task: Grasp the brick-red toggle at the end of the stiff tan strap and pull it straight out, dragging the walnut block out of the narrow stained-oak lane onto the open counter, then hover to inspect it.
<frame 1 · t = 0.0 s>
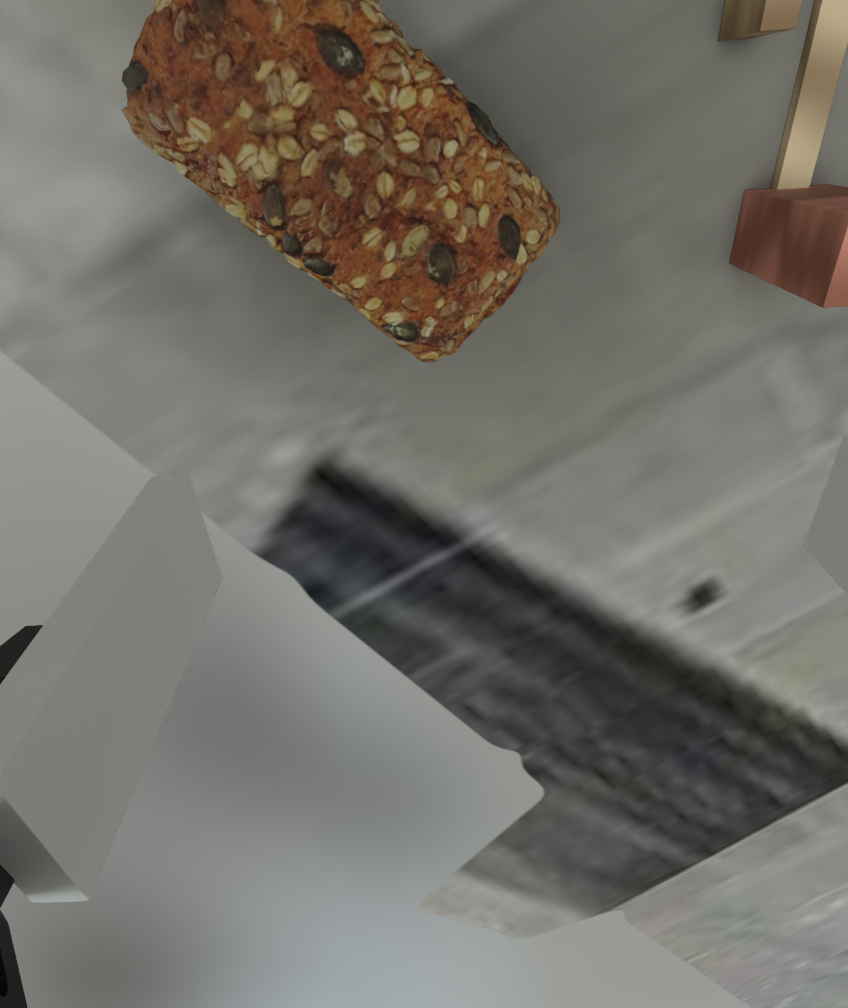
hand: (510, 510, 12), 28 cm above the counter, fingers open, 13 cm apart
bread: (367, 156, 33), on the counter
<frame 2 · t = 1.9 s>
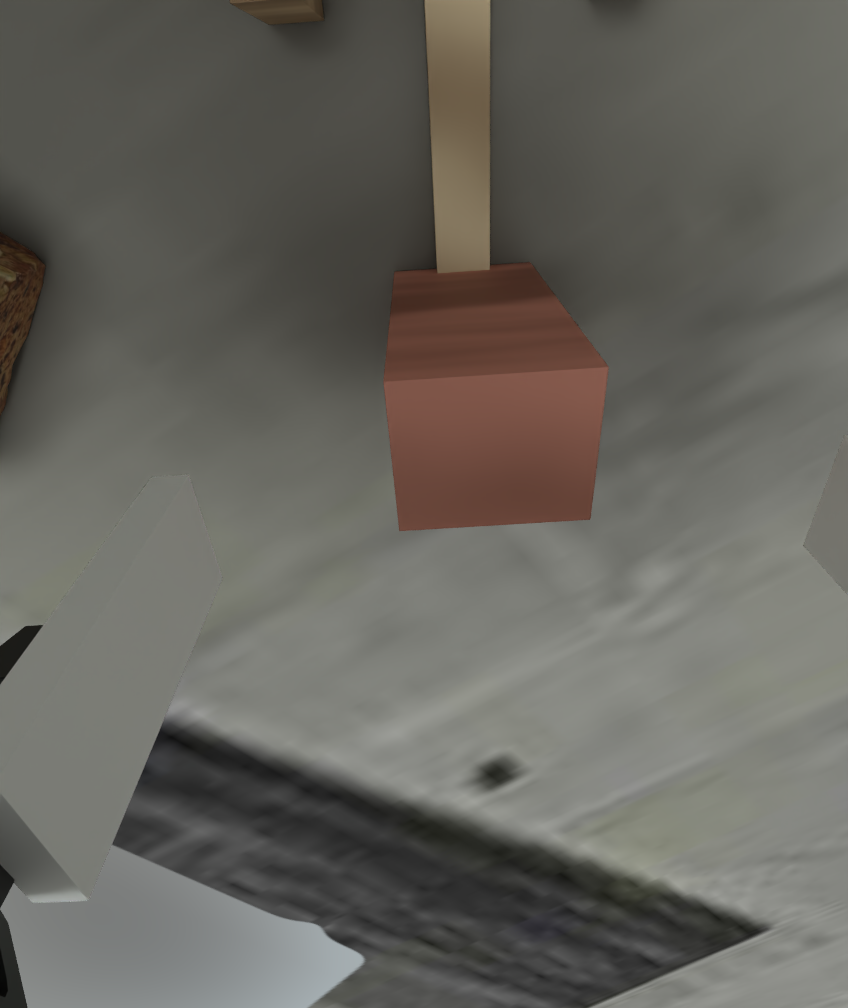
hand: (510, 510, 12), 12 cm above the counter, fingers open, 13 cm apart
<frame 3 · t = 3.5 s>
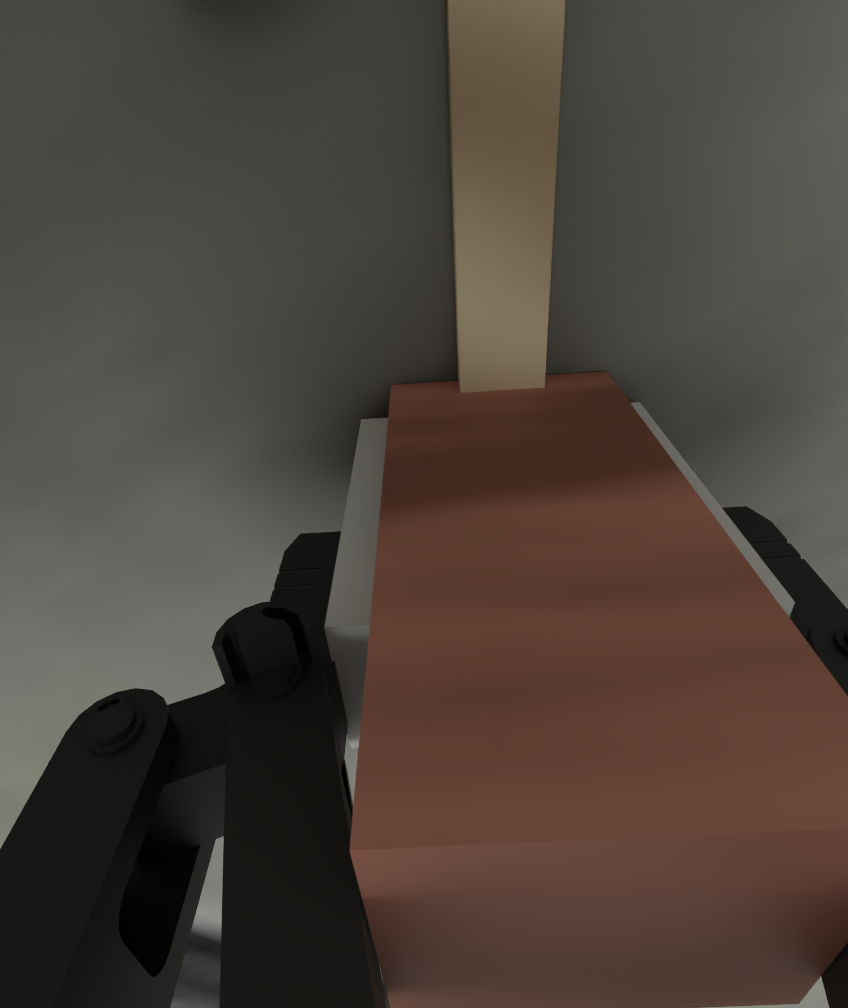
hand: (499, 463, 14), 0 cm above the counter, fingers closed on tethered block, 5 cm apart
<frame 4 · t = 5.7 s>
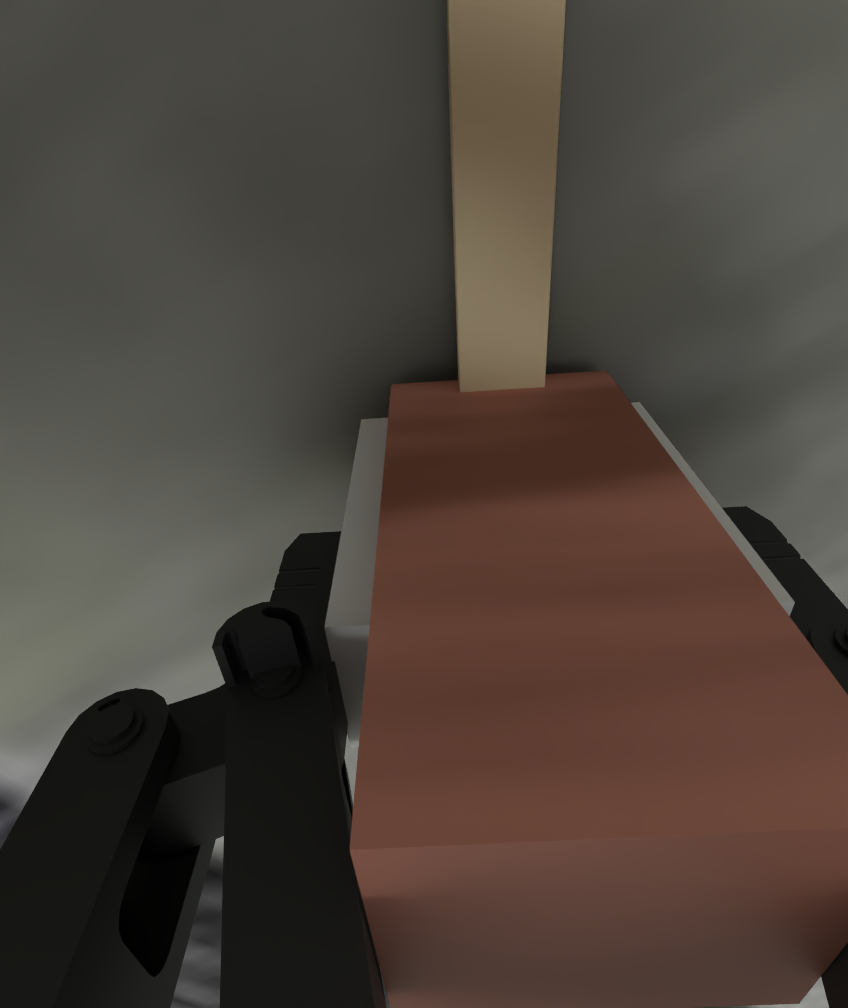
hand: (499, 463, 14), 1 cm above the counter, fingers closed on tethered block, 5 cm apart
when the fingers open (1 cm above the counter, at t = 7.7 s): tethered block stays where it is, on the counter.
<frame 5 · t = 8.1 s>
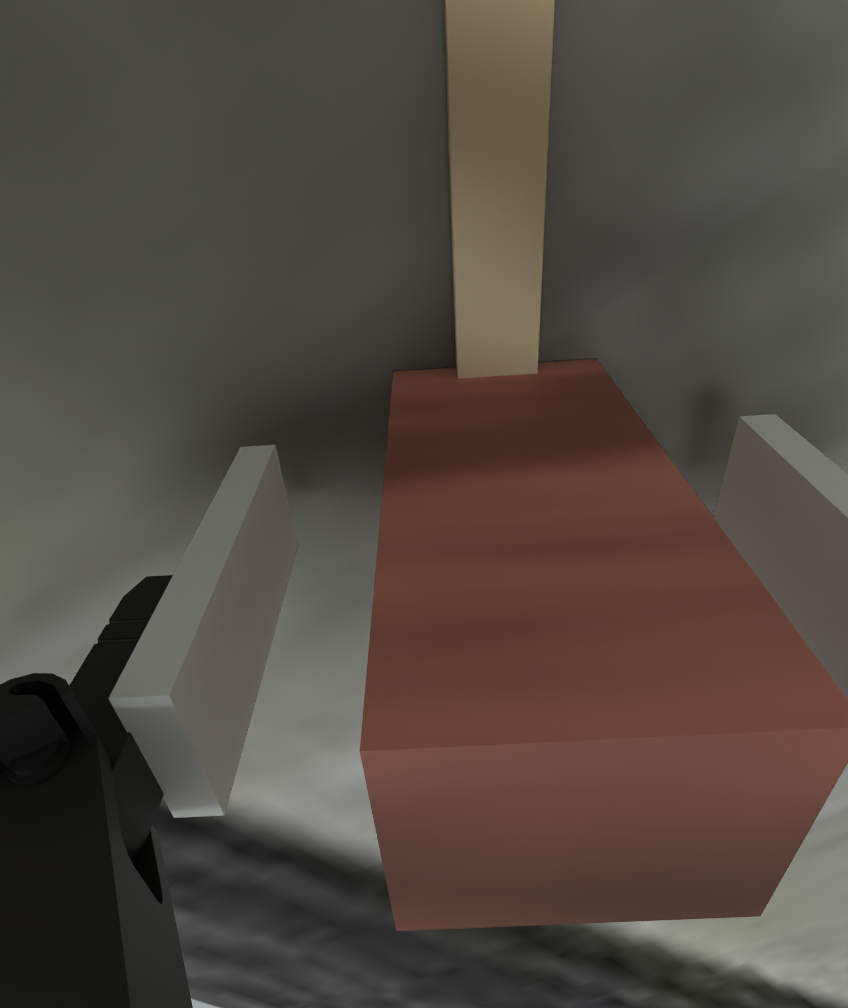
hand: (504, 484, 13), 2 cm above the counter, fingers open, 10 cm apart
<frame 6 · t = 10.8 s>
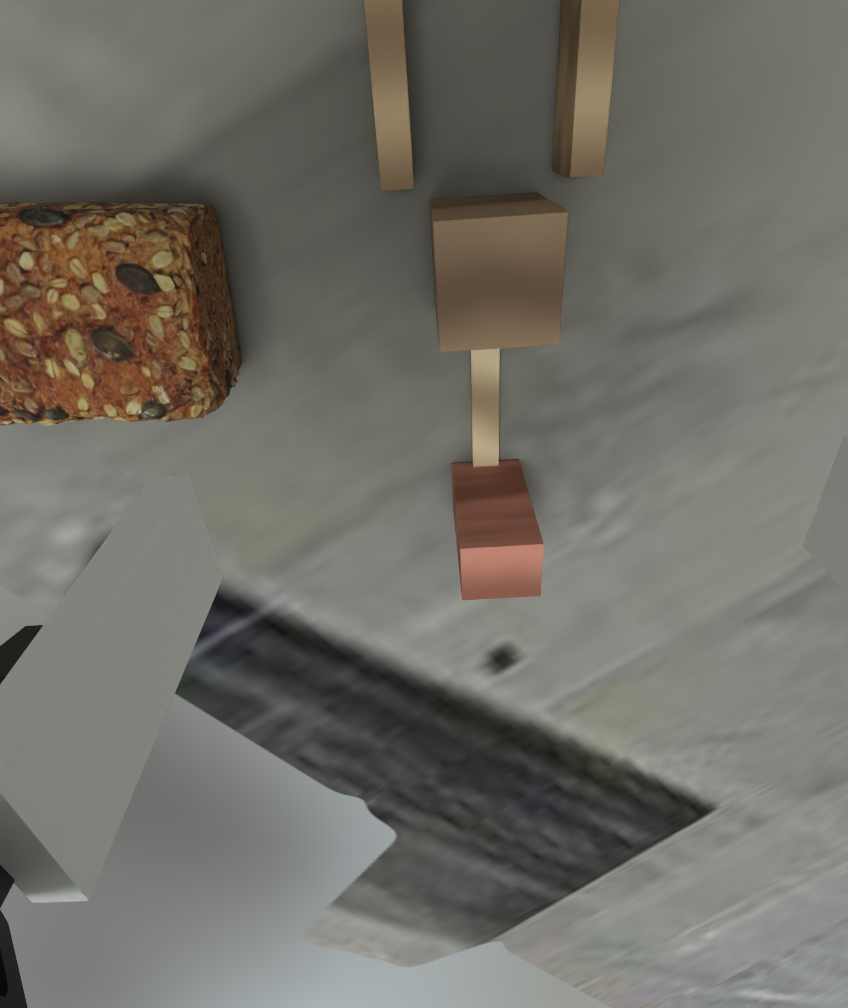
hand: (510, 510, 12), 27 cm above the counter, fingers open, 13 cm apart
oak lane: (482, 36, 29), on the counter
bread: (86, 287, 36), on the counter
tethered block: (483, 253, 35), on the counter
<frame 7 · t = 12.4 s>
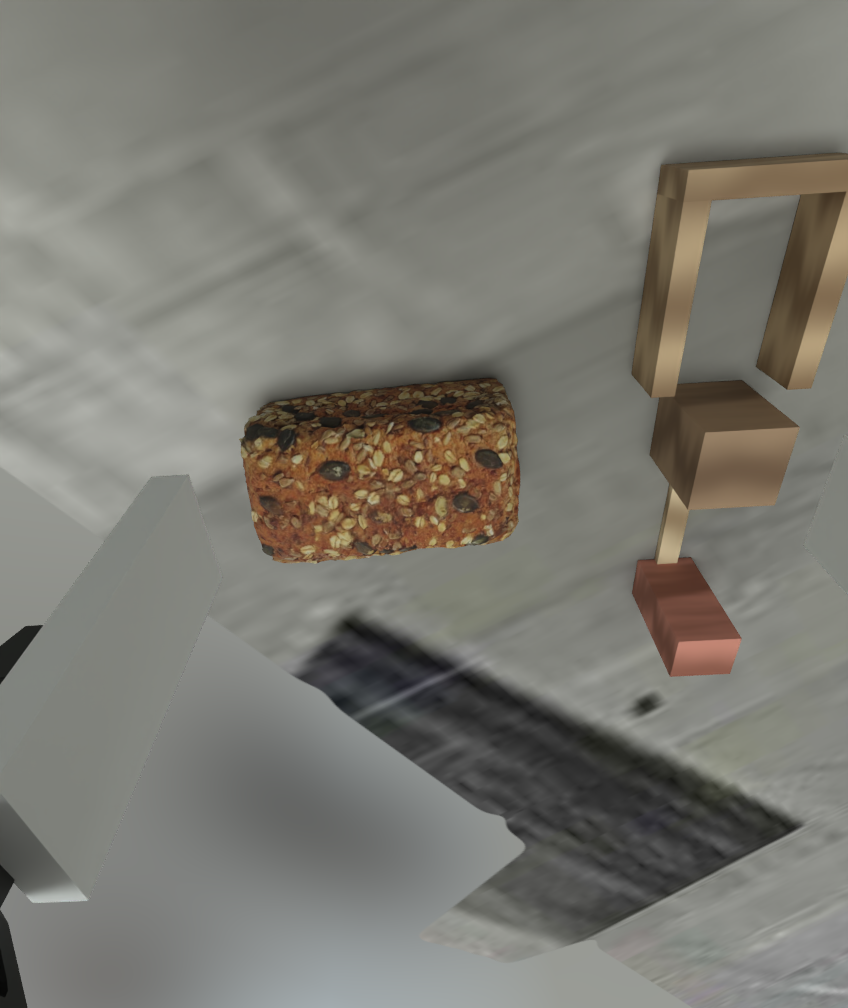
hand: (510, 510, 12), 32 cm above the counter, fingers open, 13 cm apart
oak lane: (722, 286, 41), on the counter
bread: (388, 440, 47), on the counter
tethered block: (694, 418, 46), on the counter
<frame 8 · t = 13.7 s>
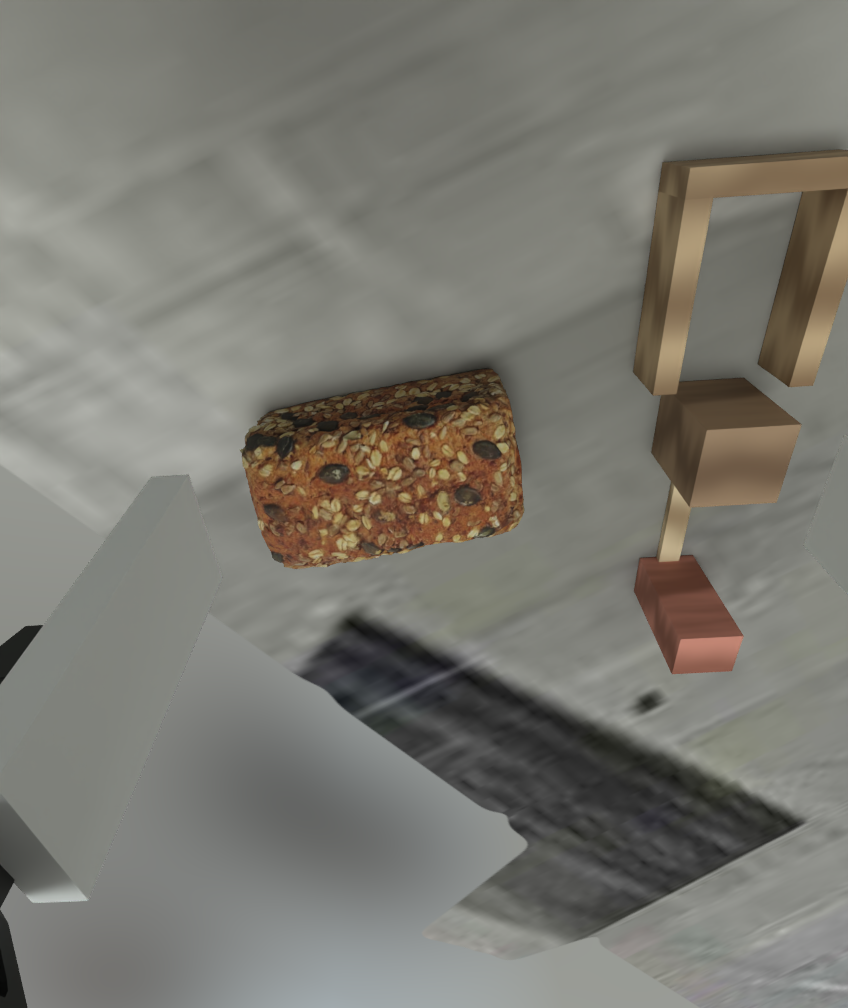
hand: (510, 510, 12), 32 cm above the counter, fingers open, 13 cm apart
oak lane: (723, 283, 41), on the counter
bread: (391, 439, 47), on the counter
tethered block: (695, 416, 46), on the counter
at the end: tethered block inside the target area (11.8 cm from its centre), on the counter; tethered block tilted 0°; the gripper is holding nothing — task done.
